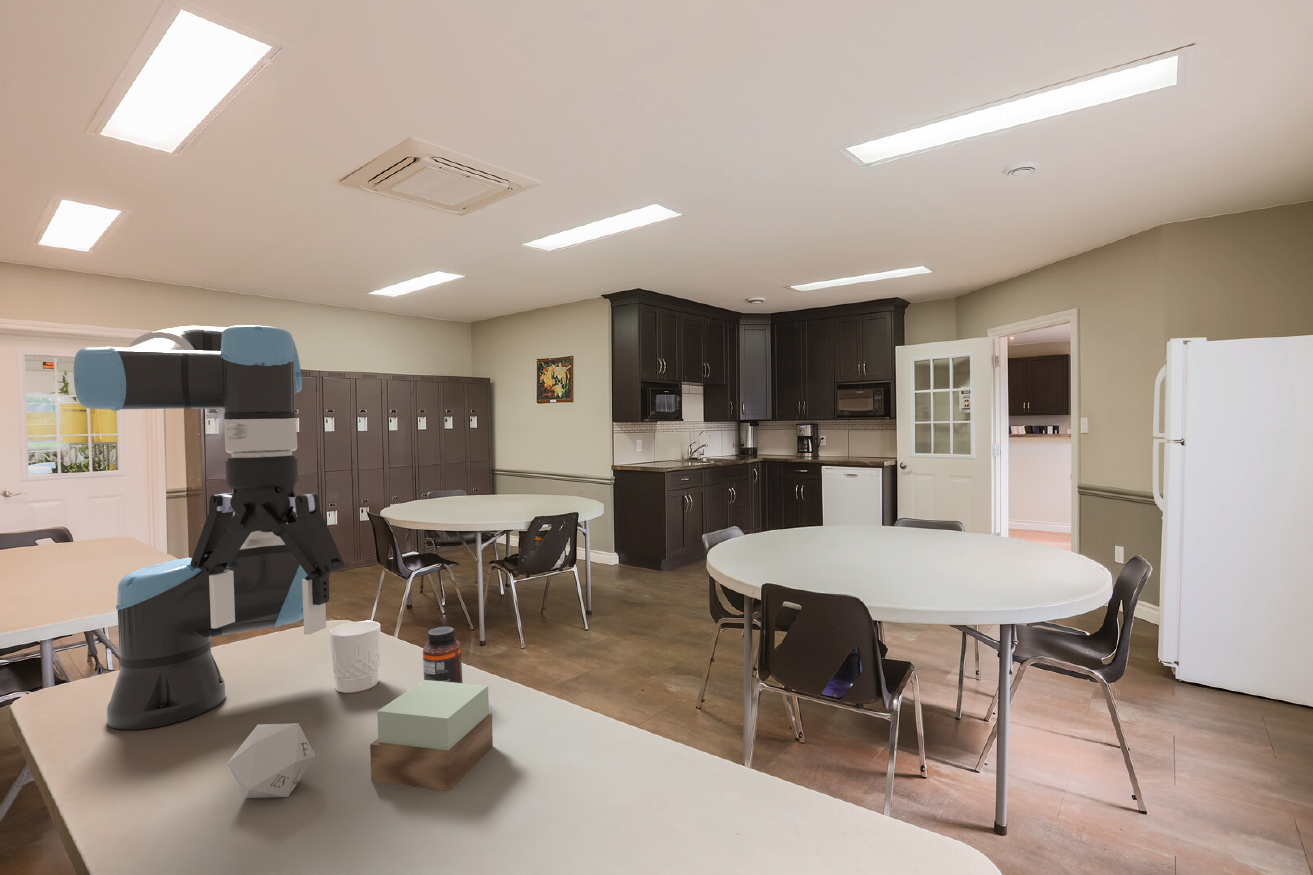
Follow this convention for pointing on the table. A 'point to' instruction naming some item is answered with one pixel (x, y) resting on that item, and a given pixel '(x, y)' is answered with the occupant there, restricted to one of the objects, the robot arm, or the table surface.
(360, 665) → the white cup
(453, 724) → the sage block
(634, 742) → the table surface
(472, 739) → the walnut slab
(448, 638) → the supplement bottle
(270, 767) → the die
